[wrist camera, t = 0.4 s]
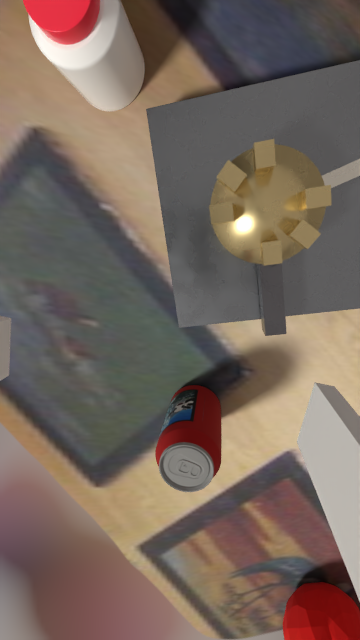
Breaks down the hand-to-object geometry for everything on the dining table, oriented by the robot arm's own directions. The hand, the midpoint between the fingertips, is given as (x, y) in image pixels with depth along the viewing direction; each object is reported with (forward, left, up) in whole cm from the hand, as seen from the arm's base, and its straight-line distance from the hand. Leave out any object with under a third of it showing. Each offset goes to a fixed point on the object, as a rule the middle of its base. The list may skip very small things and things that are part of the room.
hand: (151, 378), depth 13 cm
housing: (-8, +8, -25) cm, 27 cm away
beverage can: (+15, -2, -25) cm, 30 cm away
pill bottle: (-25, -6, -25) cm, 36 cm away
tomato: (+48, +12, -25) cm, 56 cm away
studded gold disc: (-4, +8, -21) cm, 23 cm away
